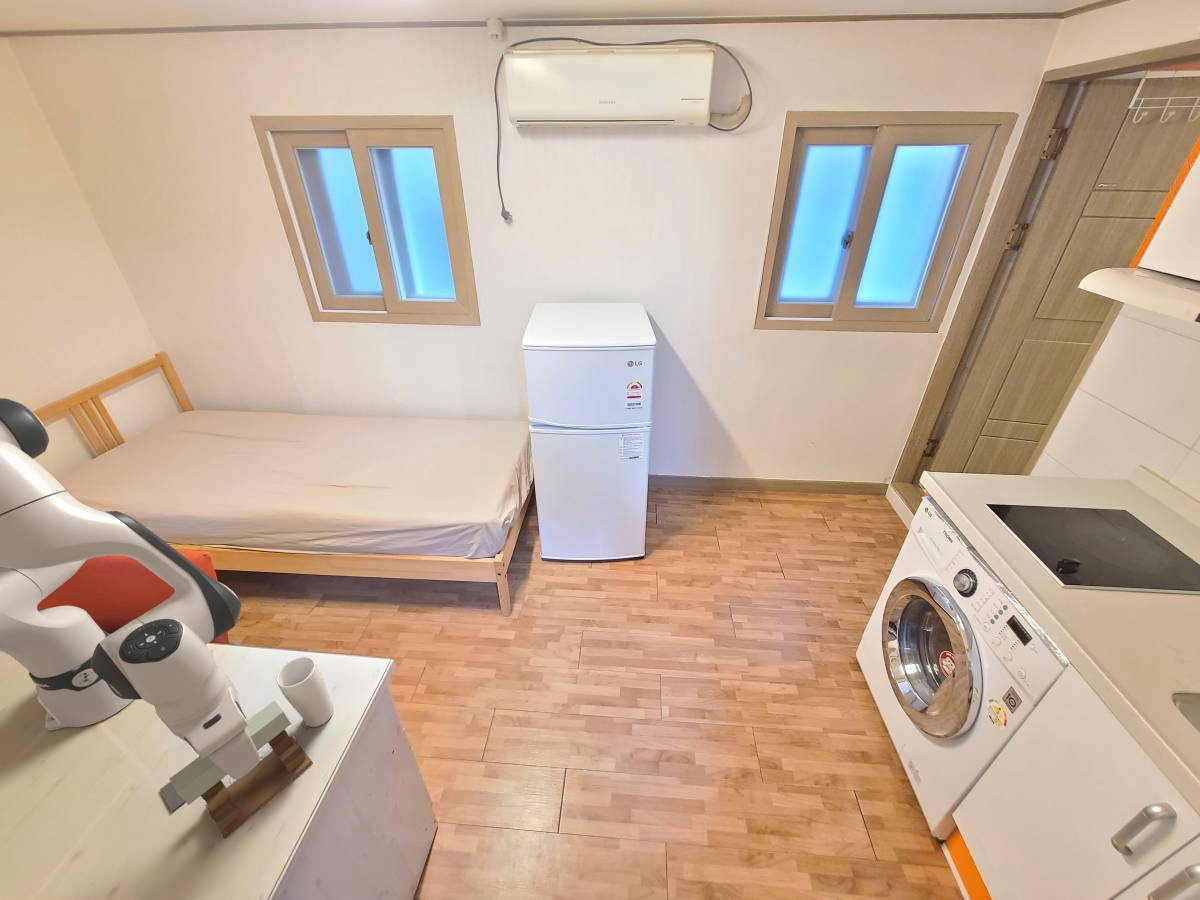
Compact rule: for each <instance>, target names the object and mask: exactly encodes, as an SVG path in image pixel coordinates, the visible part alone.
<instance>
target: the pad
mask: <svg viewBox="0 0 1200 900" xmlns="http://www.w3.org/2000/svg"><path fill="white" fill-rule="evenodd" d="M159 790H160V792H161V794H162V796H163V798H164V800H165V802H166V804H167V806H168V808H169V811H170V812H171V813H174V812H175V811H176V810H177V809H179V808H181V807H182V806H183V805H184V804H186V802H185V801H184V800H183V799H182V798H181V797H180V796H179V795H178V794H177V792H176V790H175V788H174V787H173V785H172V783H171V781H169V782H168V783H167V784H166V785H164V786H162V787H161V788H160V789H159Z"/></svg>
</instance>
